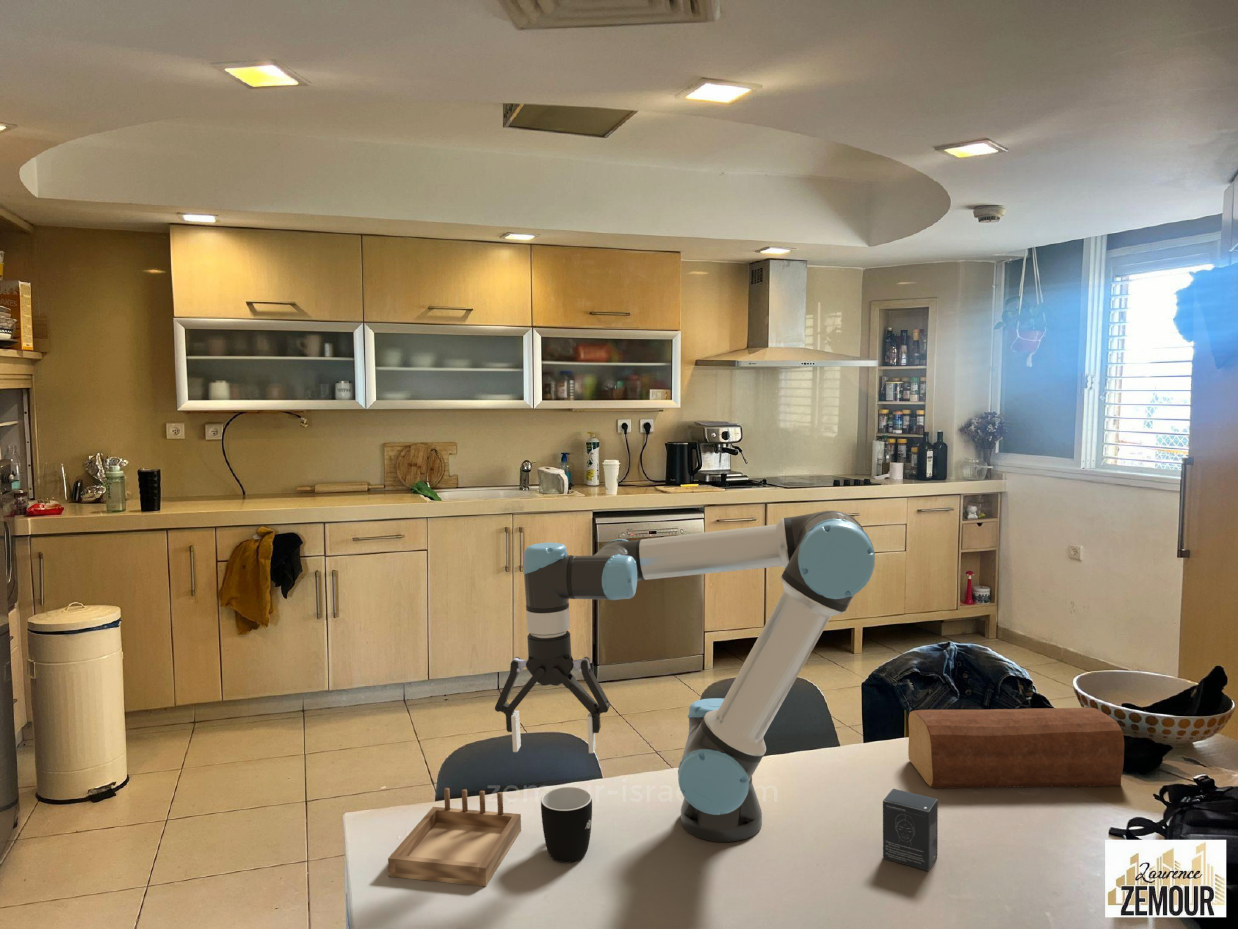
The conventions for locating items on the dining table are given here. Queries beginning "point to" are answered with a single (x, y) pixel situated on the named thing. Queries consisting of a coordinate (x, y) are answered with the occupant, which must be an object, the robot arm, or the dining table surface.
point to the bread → (1016, 748)
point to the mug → (567, 822)
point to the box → (910, 829)
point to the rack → (456, 844)
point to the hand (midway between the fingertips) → (554, 749)
